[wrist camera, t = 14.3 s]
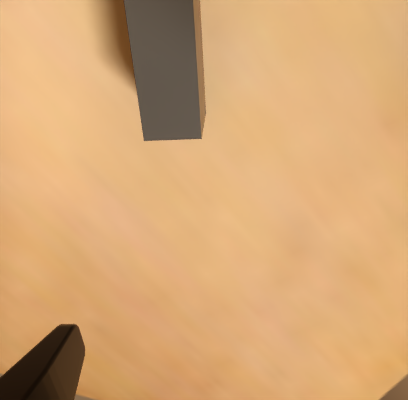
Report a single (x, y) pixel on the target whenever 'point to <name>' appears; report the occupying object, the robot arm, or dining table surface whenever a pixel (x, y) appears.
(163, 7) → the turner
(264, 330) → the dining table surface
